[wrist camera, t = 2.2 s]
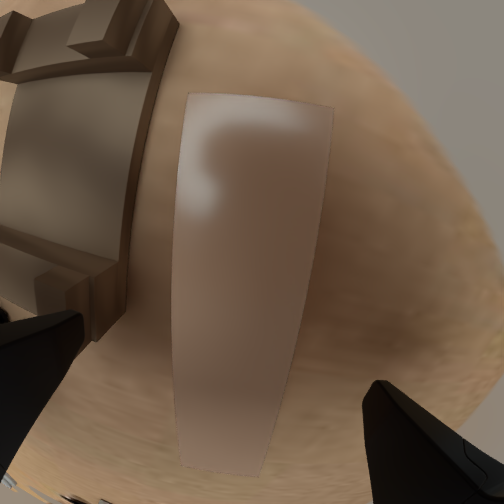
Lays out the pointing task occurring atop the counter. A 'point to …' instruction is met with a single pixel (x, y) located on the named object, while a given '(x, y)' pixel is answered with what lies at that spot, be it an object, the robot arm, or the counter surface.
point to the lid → (8, 480)
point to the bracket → (76, 152)
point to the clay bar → (241, 268)
